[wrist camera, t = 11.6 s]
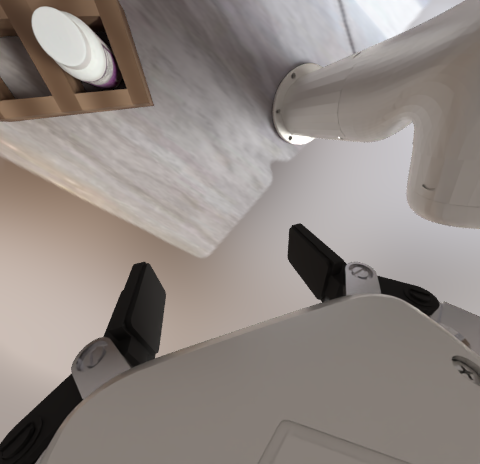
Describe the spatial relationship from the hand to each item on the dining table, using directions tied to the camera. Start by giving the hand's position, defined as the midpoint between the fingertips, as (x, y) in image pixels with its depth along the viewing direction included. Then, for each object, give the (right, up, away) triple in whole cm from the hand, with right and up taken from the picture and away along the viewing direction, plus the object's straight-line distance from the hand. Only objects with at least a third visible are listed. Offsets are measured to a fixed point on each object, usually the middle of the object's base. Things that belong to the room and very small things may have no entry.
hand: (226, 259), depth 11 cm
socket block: (-23, +24, +12) cm, 36 cm away
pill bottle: (-19, +26, +13) cm, 34 cm away
